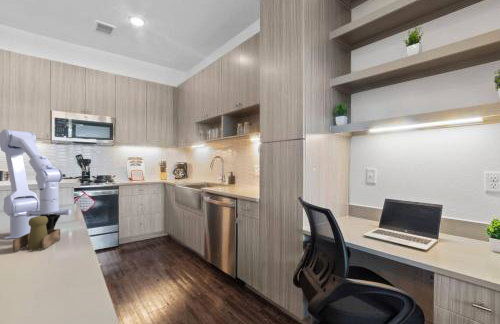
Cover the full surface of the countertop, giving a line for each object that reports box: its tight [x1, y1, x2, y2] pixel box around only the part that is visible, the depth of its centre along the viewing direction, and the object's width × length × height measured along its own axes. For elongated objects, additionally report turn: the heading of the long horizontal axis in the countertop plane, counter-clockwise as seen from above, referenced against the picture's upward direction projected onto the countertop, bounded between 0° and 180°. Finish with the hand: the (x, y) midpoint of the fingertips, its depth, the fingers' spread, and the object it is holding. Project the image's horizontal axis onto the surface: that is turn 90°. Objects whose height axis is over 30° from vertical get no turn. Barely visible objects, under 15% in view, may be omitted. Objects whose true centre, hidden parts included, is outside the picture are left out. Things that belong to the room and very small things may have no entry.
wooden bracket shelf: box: [12, 228, 61, 253], centre depth 85 cm, size 11×9×4 cm
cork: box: [26, 216, 48, 251], centre depth 85 cm, size 6×6×11 cm
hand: (49, 233), depth 92 cm, fingers closed
